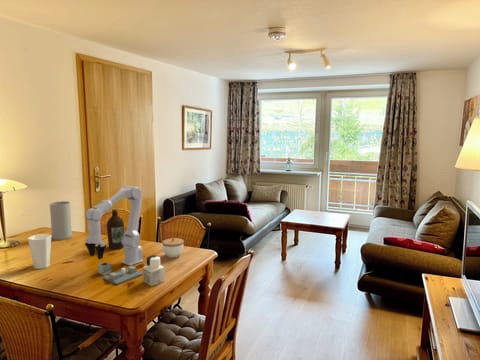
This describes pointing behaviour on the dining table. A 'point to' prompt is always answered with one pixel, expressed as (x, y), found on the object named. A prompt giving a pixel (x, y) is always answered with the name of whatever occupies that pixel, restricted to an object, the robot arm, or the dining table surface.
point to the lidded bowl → (173, 247)
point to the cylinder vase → (60, 220)
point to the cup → (40, 250)
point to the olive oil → (115, 231)
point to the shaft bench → (125, 278)
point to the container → (153, 271)
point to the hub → (104, 268)
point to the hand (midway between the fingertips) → (96, 257)
